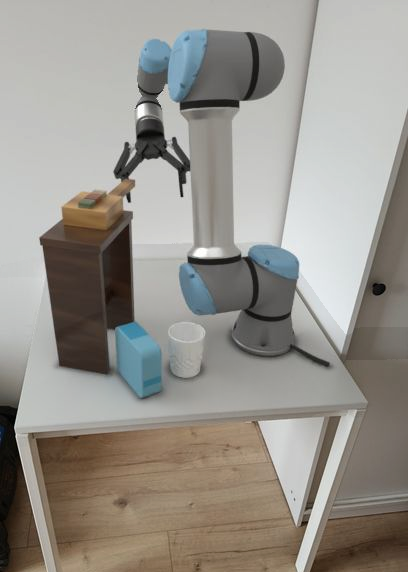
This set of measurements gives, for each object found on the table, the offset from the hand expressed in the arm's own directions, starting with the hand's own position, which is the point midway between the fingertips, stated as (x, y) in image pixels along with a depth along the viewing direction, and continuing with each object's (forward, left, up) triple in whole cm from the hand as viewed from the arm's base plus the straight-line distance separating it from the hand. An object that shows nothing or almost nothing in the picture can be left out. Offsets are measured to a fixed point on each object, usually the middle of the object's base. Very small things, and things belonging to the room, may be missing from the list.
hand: (155, 197), depth 128 cm
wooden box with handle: (-9, +18, +4) cm, 21 cm away
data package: (-33, +27, -26) cm, 50 cm away
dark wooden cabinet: (-17, +27, -26) cm, 41 cm away
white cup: (-35, +16, -26) cm, 47 cm away
